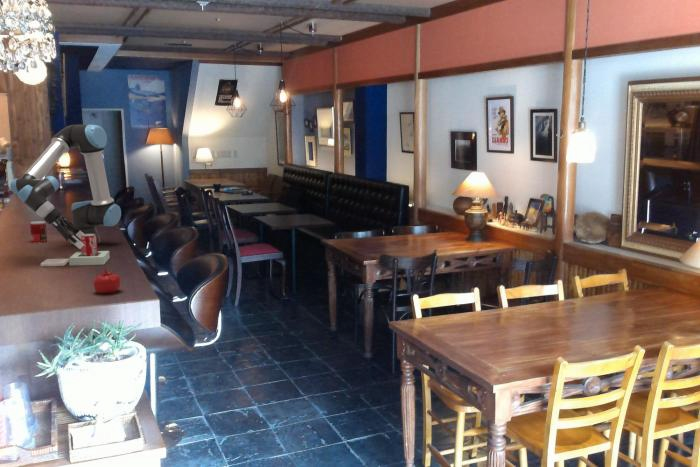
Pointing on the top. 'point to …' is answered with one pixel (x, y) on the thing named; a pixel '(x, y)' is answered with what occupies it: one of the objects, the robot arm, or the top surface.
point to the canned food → (38, 231)
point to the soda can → (89, 245)
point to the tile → (54, 262)
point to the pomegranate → (107, 282)
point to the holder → (89, 259)
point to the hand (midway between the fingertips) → (85, 244)
